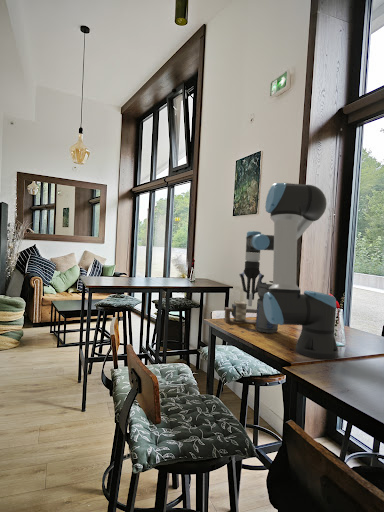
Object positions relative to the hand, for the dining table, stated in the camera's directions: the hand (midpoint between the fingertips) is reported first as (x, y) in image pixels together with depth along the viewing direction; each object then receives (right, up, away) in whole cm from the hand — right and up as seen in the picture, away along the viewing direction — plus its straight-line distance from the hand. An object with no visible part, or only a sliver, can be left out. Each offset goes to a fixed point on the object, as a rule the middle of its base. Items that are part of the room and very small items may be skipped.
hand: (249, 305), depth 180 cm
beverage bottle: (+6, -10, -17) cm, 21 cm away
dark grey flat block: (-9, -5, 0) cm, 10 cm away
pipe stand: (-2, -9, 0) cm, 9 cm away
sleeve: (-6, -7, 0) cm, 9 cm away
